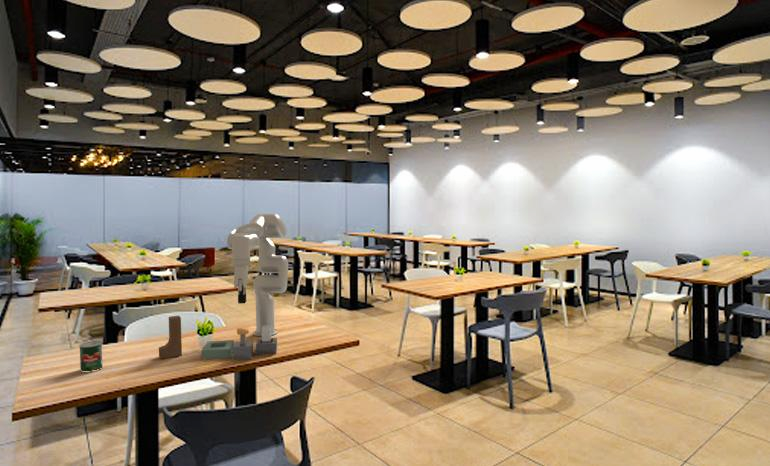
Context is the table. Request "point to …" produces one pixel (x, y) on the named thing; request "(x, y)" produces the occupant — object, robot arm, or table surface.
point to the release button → (242, 334)
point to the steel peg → (266, 334)
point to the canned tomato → (91, 356)
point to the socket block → (266, 347)
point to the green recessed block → (217, 349)
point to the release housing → (243, 351)
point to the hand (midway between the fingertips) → (242, 302)
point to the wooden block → (172, 339)
